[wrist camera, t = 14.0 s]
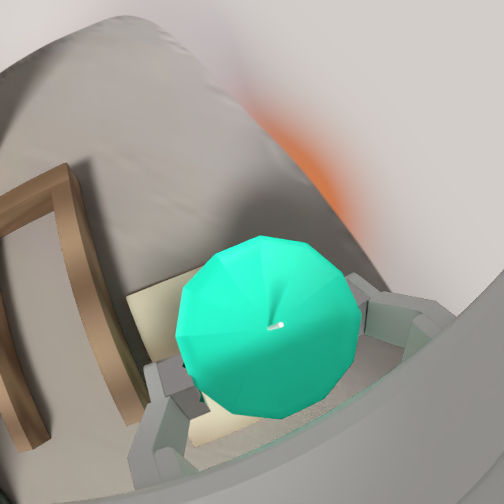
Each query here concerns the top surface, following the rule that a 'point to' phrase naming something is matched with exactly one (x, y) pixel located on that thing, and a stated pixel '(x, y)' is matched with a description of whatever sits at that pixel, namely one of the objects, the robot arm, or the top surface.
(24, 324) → the top surface
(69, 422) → the top surface
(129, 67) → the top surface
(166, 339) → the plate
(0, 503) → the coffee jar
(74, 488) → the top surface
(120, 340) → the brown wooden u-shaped frame
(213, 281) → the candle
